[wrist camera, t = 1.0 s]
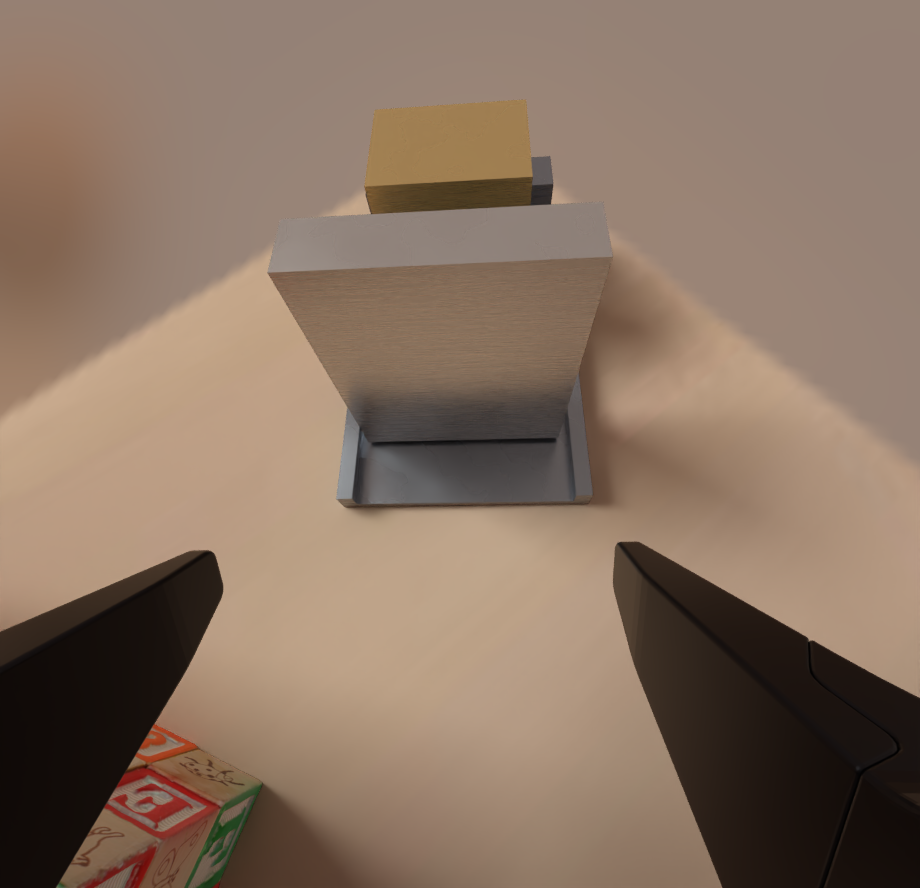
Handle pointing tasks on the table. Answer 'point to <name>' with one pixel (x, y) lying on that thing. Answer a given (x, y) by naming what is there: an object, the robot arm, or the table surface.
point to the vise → (472, 453)
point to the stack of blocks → (166, 821)
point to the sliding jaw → (448, 314)
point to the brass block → (449, 158)
